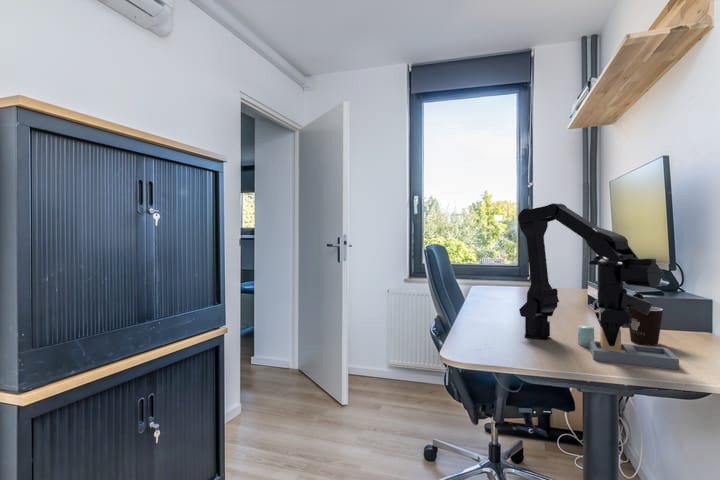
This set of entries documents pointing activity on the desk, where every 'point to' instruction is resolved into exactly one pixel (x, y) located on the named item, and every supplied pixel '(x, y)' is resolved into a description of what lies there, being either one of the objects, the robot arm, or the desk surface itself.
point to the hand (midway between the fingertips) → (610, 343)
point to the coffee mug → (645, 326)
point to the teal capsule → (585, 335)
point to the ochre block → (605, 344)
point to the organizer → (636, 355)
